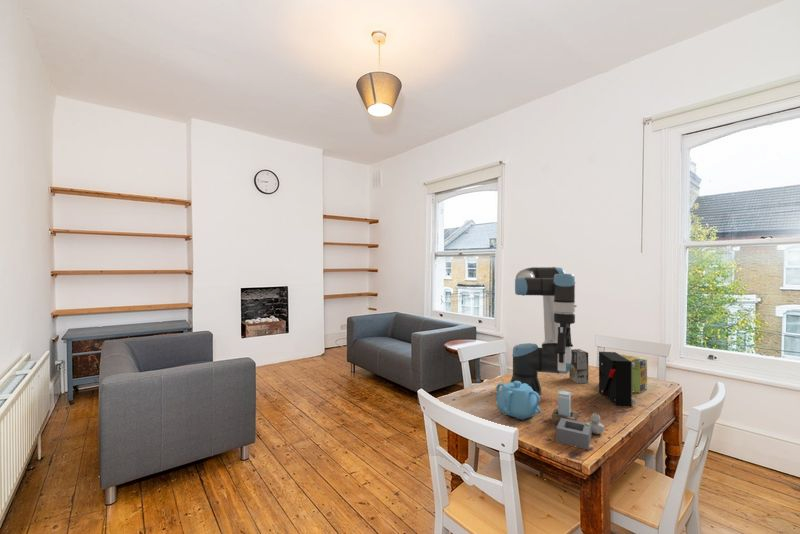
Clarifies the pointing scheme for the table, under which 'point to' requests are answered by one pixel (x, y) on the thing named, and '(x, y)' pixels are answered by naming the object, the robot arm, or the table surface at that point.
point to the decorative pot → (517, 400)
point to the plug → (564, 403)
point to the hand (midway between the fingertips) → (564, 366)
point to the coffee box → (579, 366)
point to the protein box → (638, 373)
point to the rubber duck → (596, 424)
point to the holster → (557, 417)
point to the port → (573, 433)
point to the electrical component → (616, 378)
